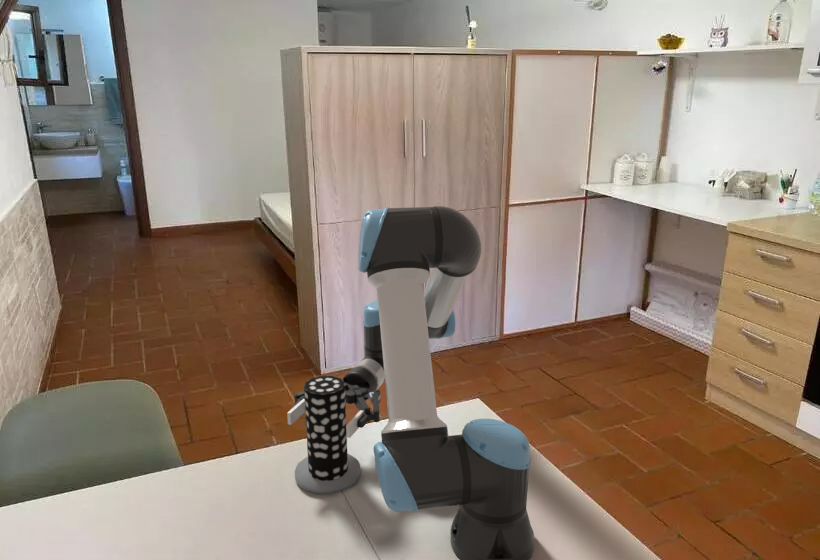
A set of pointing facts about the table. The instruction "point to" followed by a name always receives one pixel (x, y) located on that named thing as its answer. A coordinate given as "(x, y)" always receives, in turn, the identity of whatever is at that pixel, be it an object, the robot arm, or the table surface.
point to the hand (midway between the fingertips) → (317, 425)
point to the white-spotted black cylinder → (326, 427)
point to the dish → (327, 486)
